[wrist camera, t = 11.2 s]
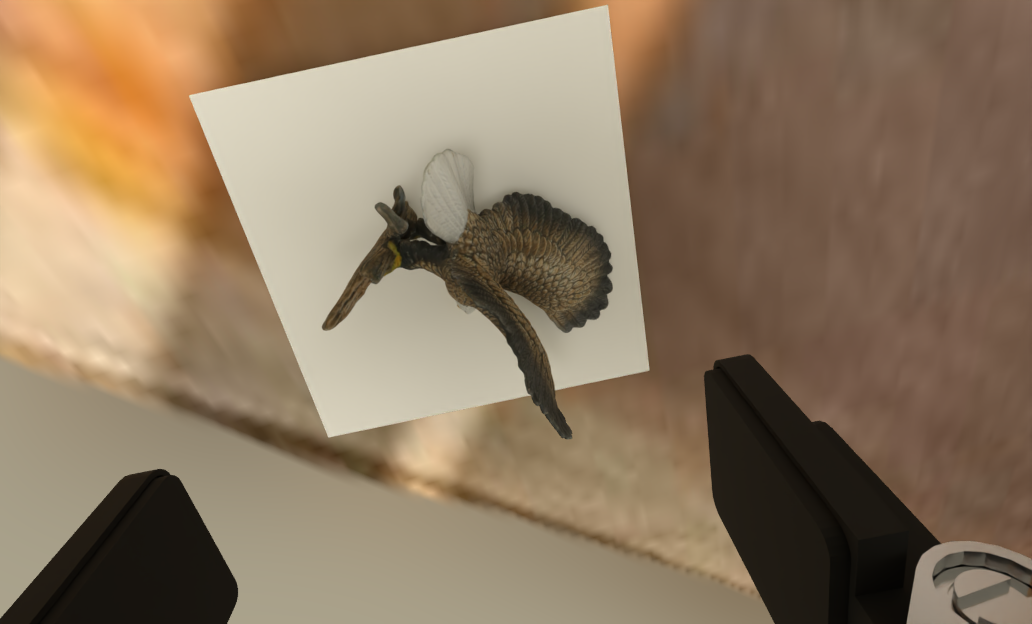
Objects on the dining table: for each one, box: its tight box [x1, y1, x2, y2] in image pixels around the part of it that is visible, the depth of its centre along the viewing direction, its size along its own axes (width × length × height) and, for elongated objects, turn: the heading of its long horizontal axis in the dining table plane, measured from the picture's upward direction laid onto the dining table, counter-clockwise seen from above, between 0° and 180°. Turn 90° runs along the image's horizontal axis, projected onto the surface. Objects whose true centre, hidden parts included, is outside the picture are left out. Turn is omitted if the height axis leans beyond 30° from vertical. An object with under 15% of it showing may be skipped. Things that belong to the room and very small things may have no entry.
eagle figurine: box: [322, 149, 613, 439], centre depth 19 cm, size 8×7×9 cm
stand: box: [189, 5, 649, 437], centre depth 24 cm, size 14×14×5 cm
